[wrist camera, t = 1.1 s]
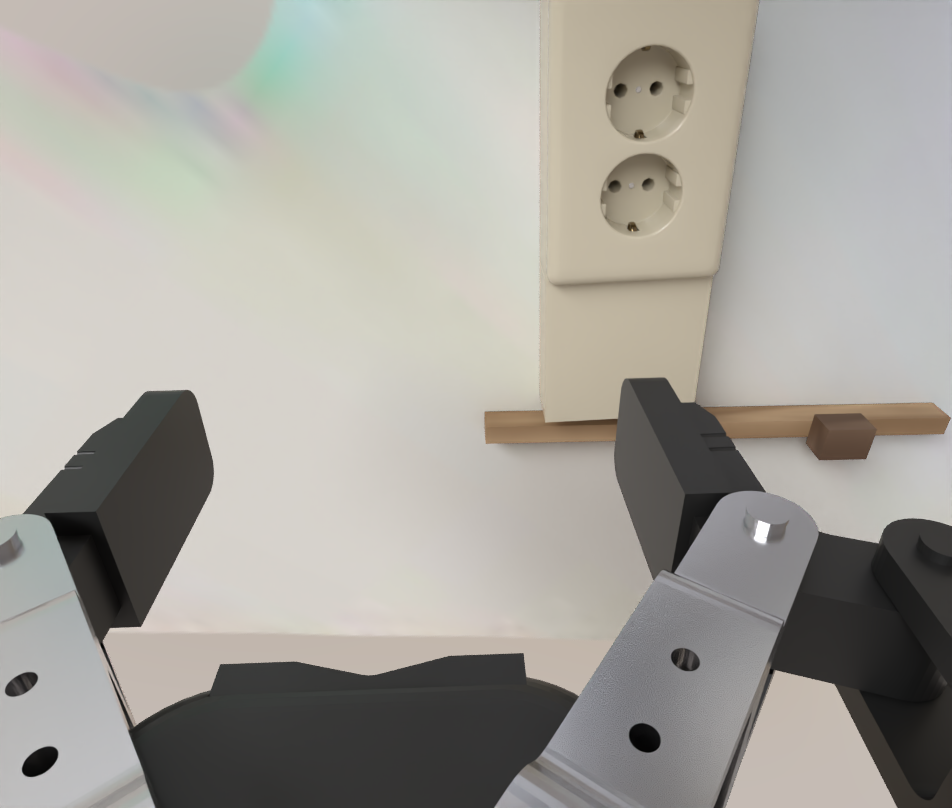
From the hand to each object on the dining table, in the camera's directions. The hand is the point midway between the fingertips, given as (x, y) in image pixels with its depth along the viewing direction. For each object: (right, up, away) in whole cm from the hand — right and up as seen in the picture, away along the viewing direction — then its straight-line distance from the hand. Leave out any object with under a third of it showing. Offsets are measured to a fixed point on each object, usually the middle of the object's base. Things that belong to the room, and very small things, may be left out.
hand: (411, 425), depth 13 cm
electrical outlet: (+8, +9, +18) cm, 21 cm away
